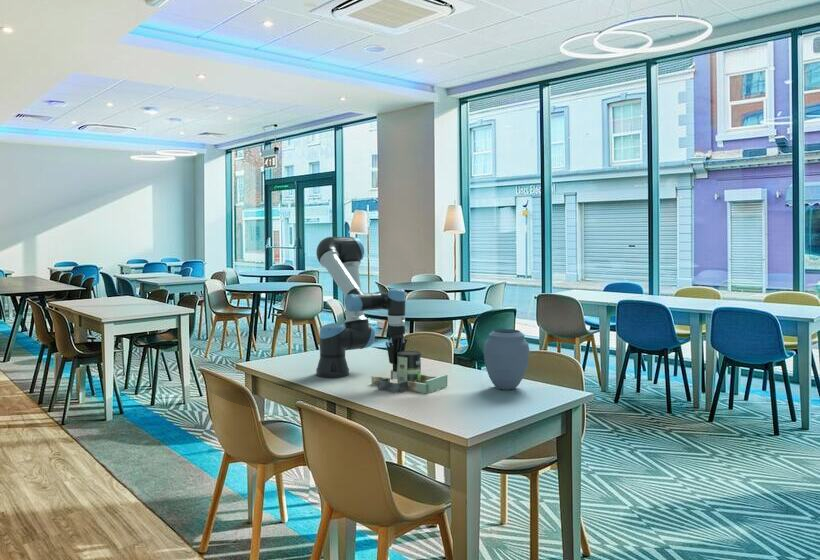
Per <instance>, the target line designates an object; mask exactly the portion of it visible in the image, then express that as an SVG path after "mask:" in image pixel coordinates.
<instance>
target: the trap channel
mask: <svg viewBox="0 0 820 560" xmlns="http://www.w3.org/2000/svg"><path fill="white" fill-rule="evenodd" d="M436 377H437V376H436V375H435V376H434V375H427V374H422V373H421V383H425V384H426V380H430V379H433V378H436ZM391 379H392V380H394V379H393V369H392V370H390V377H384V376H378V375H372V376H371V385H374V386H377V388H378V390H379V391H386V392H390V393H397V394H399V393H403V392H406V391H413V392H418V382H412V381H406V382H402V383H399V384H398V383H397V382H391Z"/></svg>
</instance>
